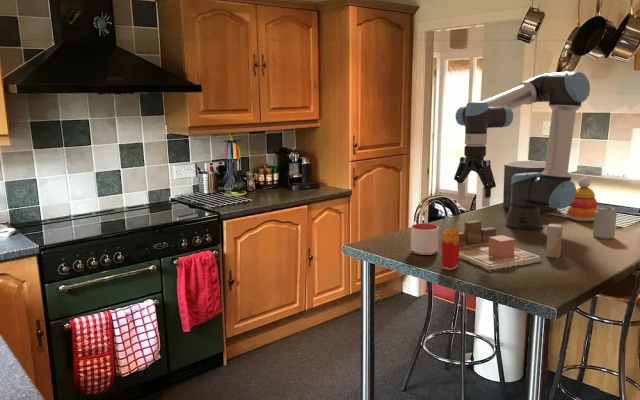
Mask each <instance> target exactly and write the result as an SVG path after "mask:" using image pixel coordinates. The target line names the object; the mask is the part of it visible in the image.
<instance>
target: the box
mask: <svg viewBox="0 0 640 400" xmlns="http://www.w3.org/2000/svg"><path fill="white" fill-rule="evenodd" d="M563 226H564V225H563V224H557V223H549V224H548V225H547V233H546V234H547V235H546V250H545V257H548V258H549V257H550V258H554V259H556V258H557V259H559V258H560V256H561V252H562V241H563V240H562V238H563Z"/></svg>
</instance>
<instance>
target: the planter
mask: <svg viewBox="0 0 640 400" xmlns="http://www.w3.org/2000/svg"><path fill="white" fill-rule="evenodd" d="M545 164H546V161H542V160H538V161H537V160H516V161H515V160H514V161H509V162H508V161H507V162H505V163H504V170H503V171H504V172H503V192H502V193H503V198H502V199H503V201H502V206H503V208H504V209H506V210H508V211H509V209H510V199H511V181H512V176H513V175H515V174H520V173H534V172H538V173H541V172H543V171H544V170H545ZM557 210H558V208H551V207H547V206H542V205H539V211H540V214H545V213H546V214H547V213H551V212H555V211H557Z"/></svg>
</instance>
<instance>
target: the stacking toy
mask: <svg viewBox="0 0 640 400" xmlns="http://www.w3.org/2000/svg"><path fill="white" fill-rule="evenodd" d="M590 185H591V180H590V178H589V177H588V176H582V177H581V178H579V180H578V186H579V187H578V188H576V195H575V198H574V200H573V201H572V203H570V205H569V206H568V207H569V208H568V209H567V212H566V213H565V215H566V218H568V219H571V220H572V221H573V220H574V221H576V222H594V216H595V211H596V210H597V207H598V202H597V199H596V197H595V195H596V194H595V192H594V191H593V189H591V188H590Z"/></svg>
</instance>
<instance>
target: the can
mask: <svg viewBox="0 0 640 400" xmlns="http://www.w3.org/2000/svg"><path fill="white" fill-rule="evenodd" d="M617 214H618V212H616V208H614V207H611V206H597V210H596V211H595V216H594V221H593V229H592V236H594V237H595V238H596V239H599V240H612V239H613V238H614V237H615V236H616V225H617V223H616V222H617Z"/></svg>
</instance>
